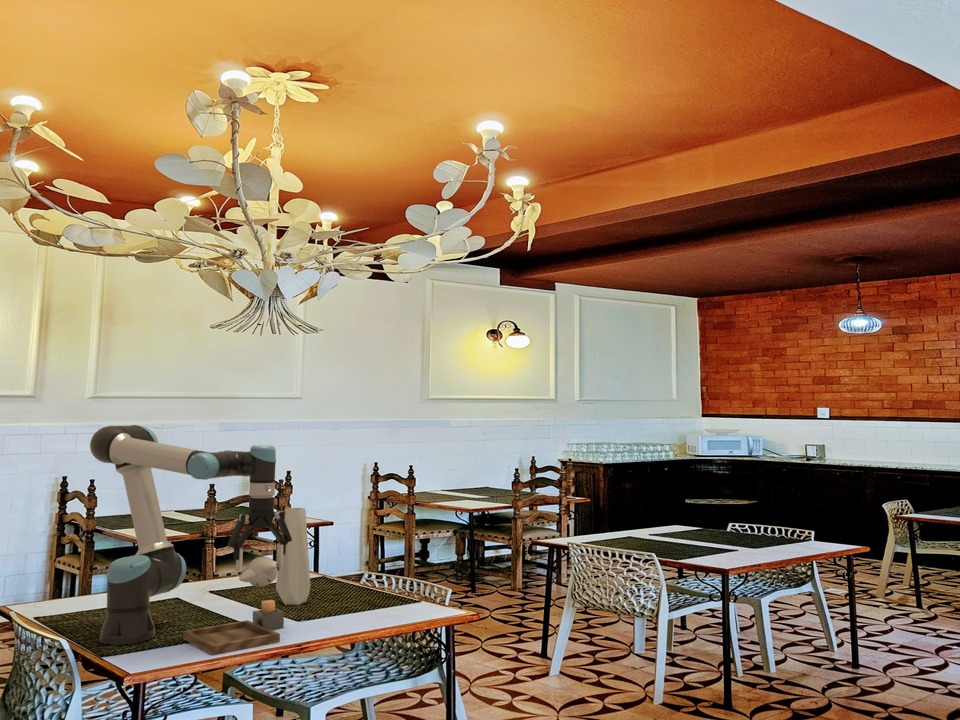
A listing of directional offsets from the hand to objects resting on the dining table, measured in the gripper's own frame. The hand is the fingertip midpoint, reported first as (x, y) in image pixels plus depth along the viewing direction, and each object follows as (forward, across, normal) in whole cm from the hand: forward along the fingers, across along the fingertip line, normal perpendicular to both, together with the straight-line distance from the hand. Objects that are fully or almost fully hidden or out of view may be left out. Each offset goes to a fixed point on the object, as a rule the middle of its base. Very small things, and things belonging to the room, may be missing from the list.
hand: (259, 568), depth 247 cm
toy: (+5, 0, 0) cm, 5 cm away
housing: (+20, +7, +6) cm, 22 cm away
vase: (+20, +30, +32) cm, 48 cm away
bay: (+20, -8, 0) cm, 22 cm away
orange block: (+17, +7, +6) cm, 19 cm away
